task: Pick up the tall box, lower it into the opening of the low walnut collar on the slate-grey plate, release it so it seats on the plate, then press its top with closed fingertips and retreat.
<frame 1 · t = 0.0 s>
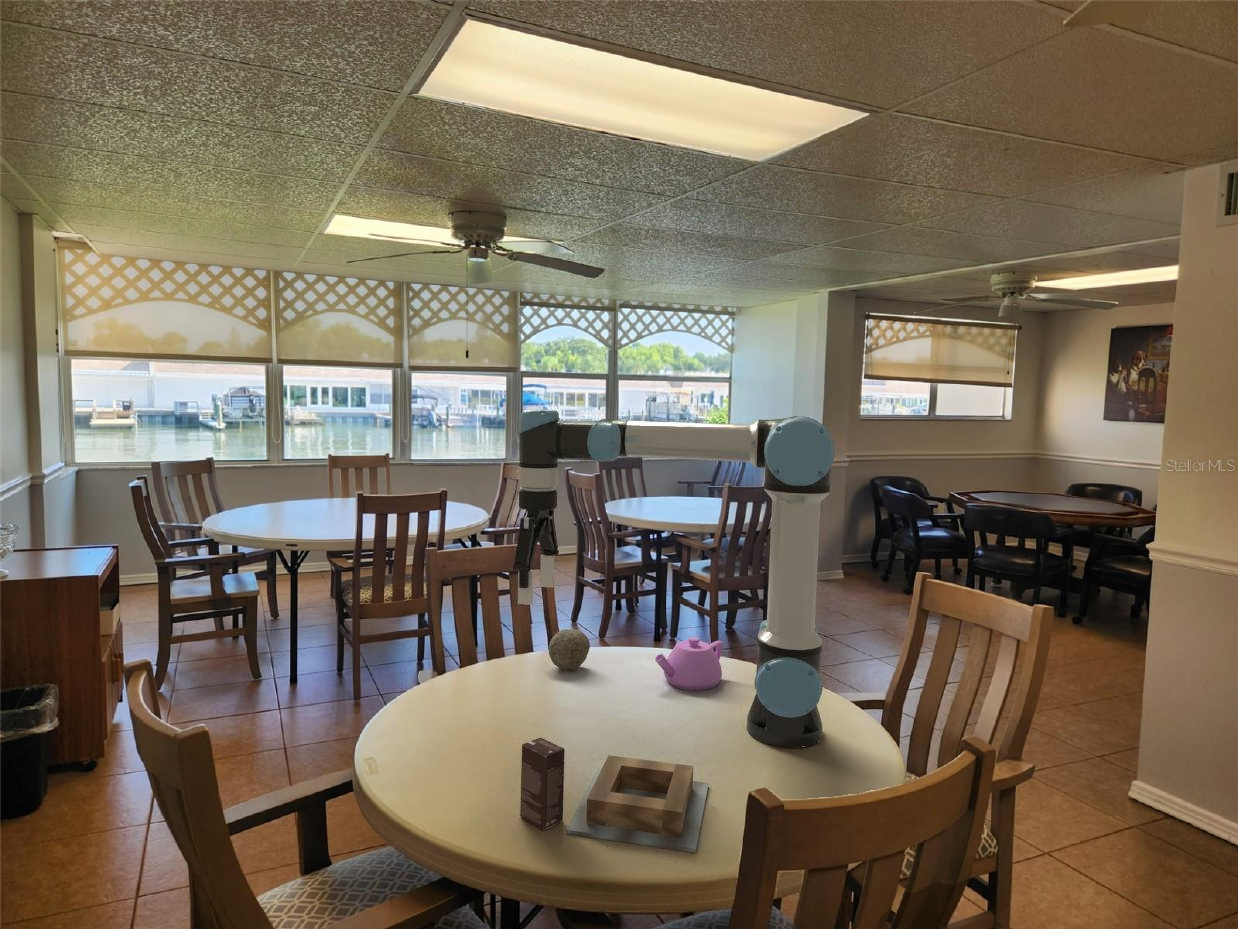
hand: (536, 595, 149), 28 cm above the table, fingers open, 13 cm apart
socket: (641, 808, 124), on the table
teapot: (689, 683, 181), on the table
box: (541, 820, 121), on the table
decorative stone: (569, 670, 187), on the table
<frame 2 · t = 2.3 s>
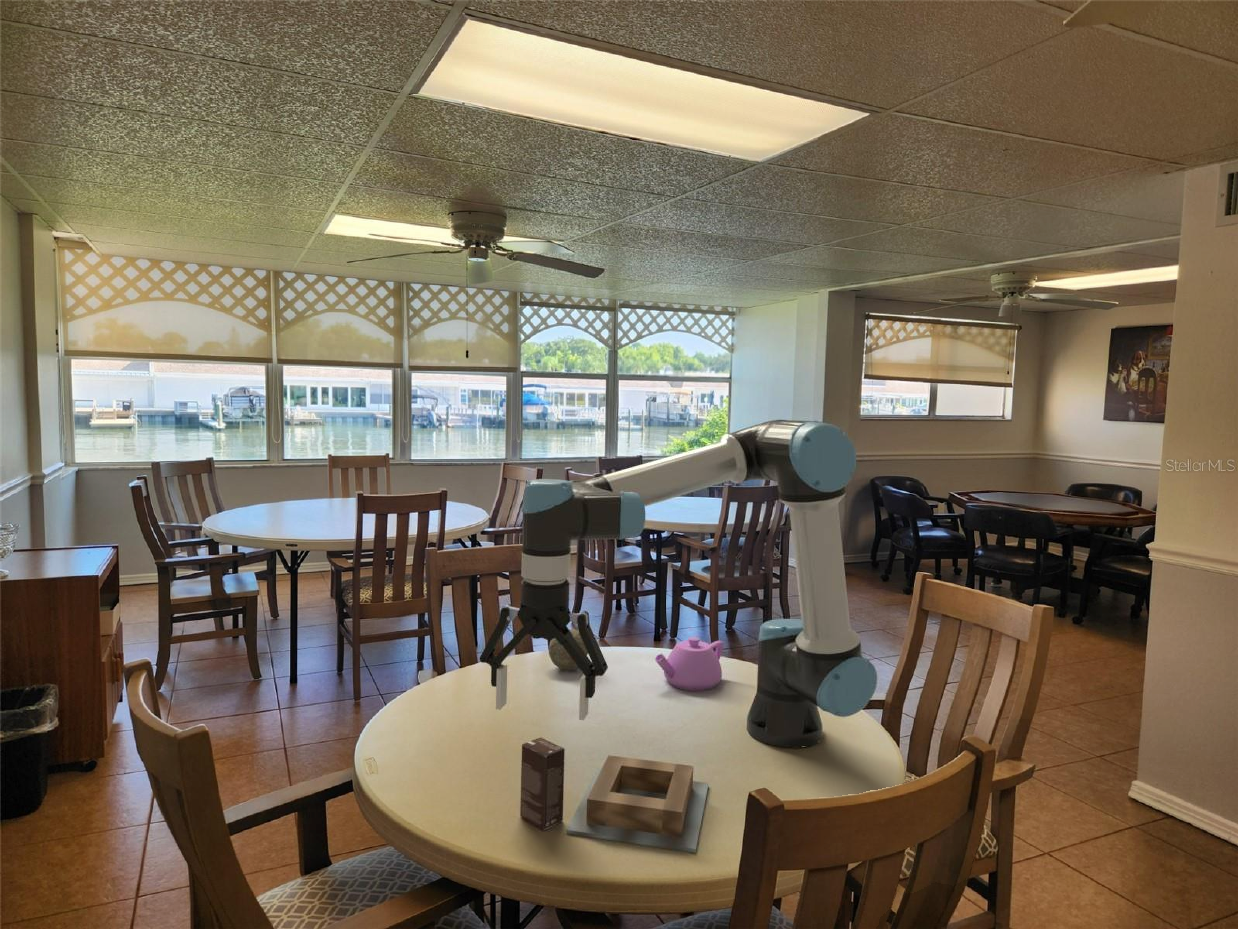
hand: (541, 711, 119), 18 cm above the table, fingers open, 13 cm apart
nothing on the table moved.
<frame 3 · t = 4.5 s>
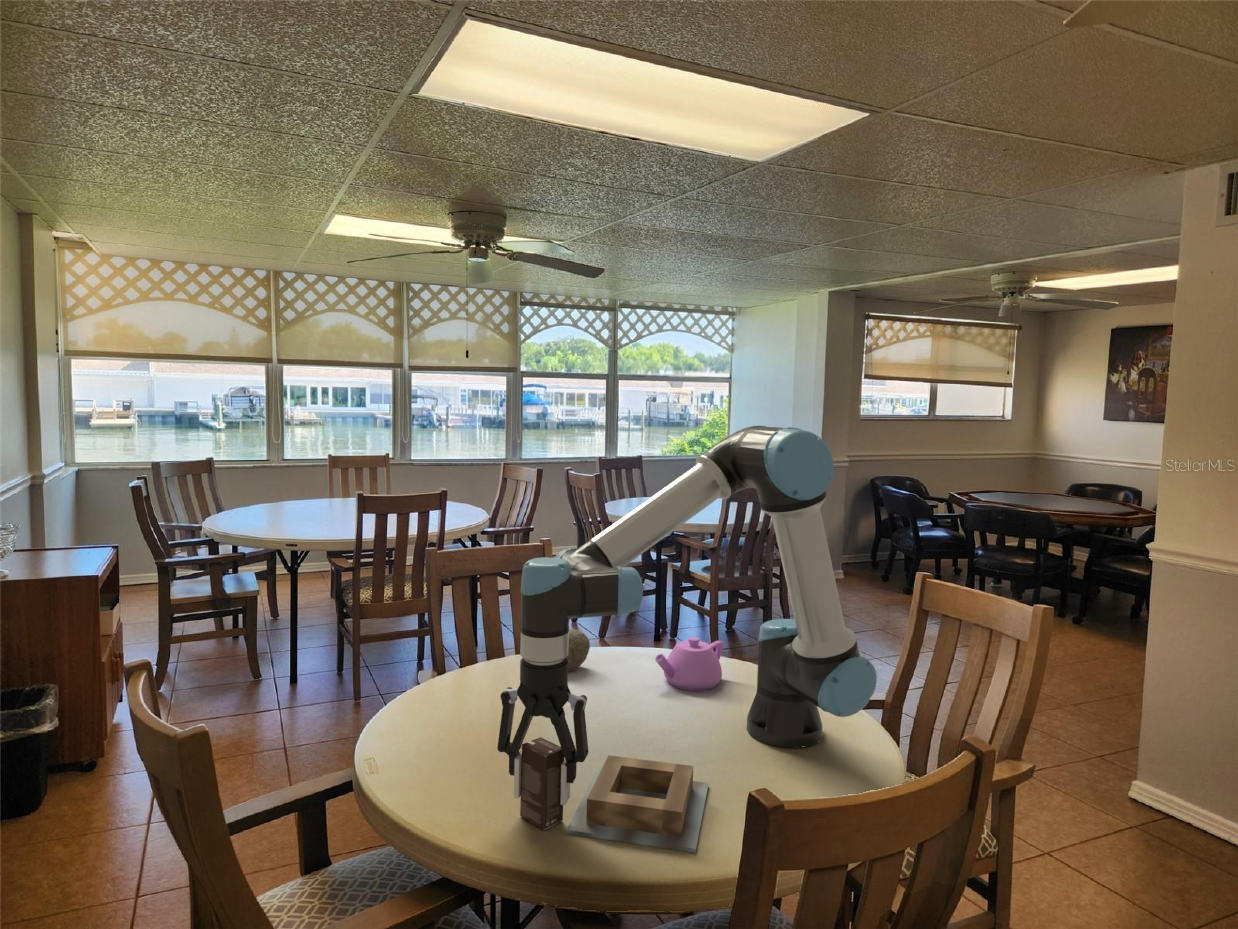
hand: (542, 797, 120), 4 cm above the table, fingers closed on box, 7 cm apart
box: (541, 819, 121), on the table, touching gripper
everything else where it was.
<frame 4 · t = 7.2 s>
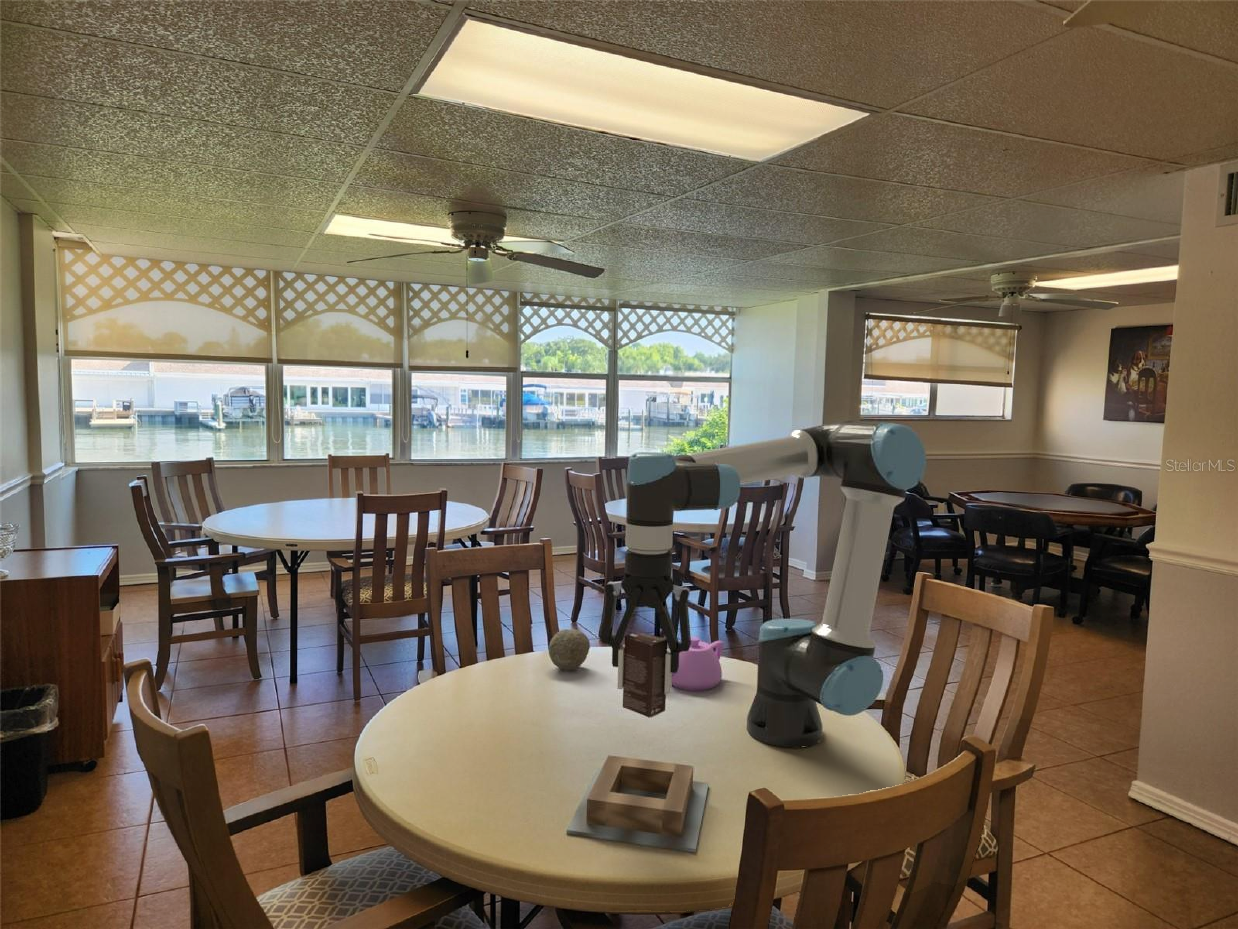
hand: (644, 688, 122), 20 cm above the table, fingers closed on box, 7 cm apart
box: (643, 710, 123), point 17 cm above the table, touching gripper
everything else where it was.
when the fingers open (6 cm above the table, at t = 10.2 s): box drops 2 cm, resting on socket.
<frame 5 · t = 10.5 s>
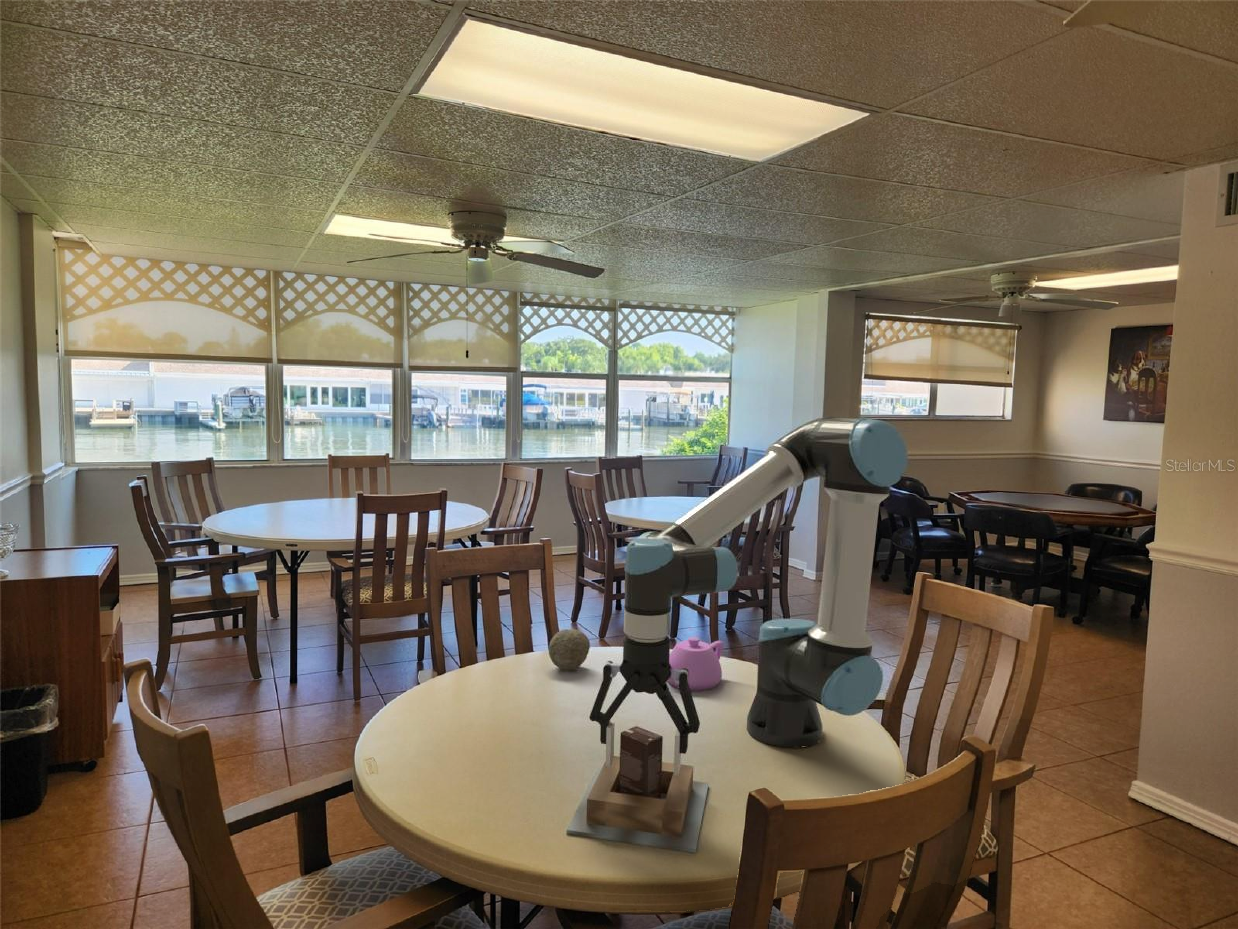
hand: (643, 766, 124), 7 cm above the table, fingers open, 10 cm apart
box: (639, 805, 124), resting on socket
everything else where it was.
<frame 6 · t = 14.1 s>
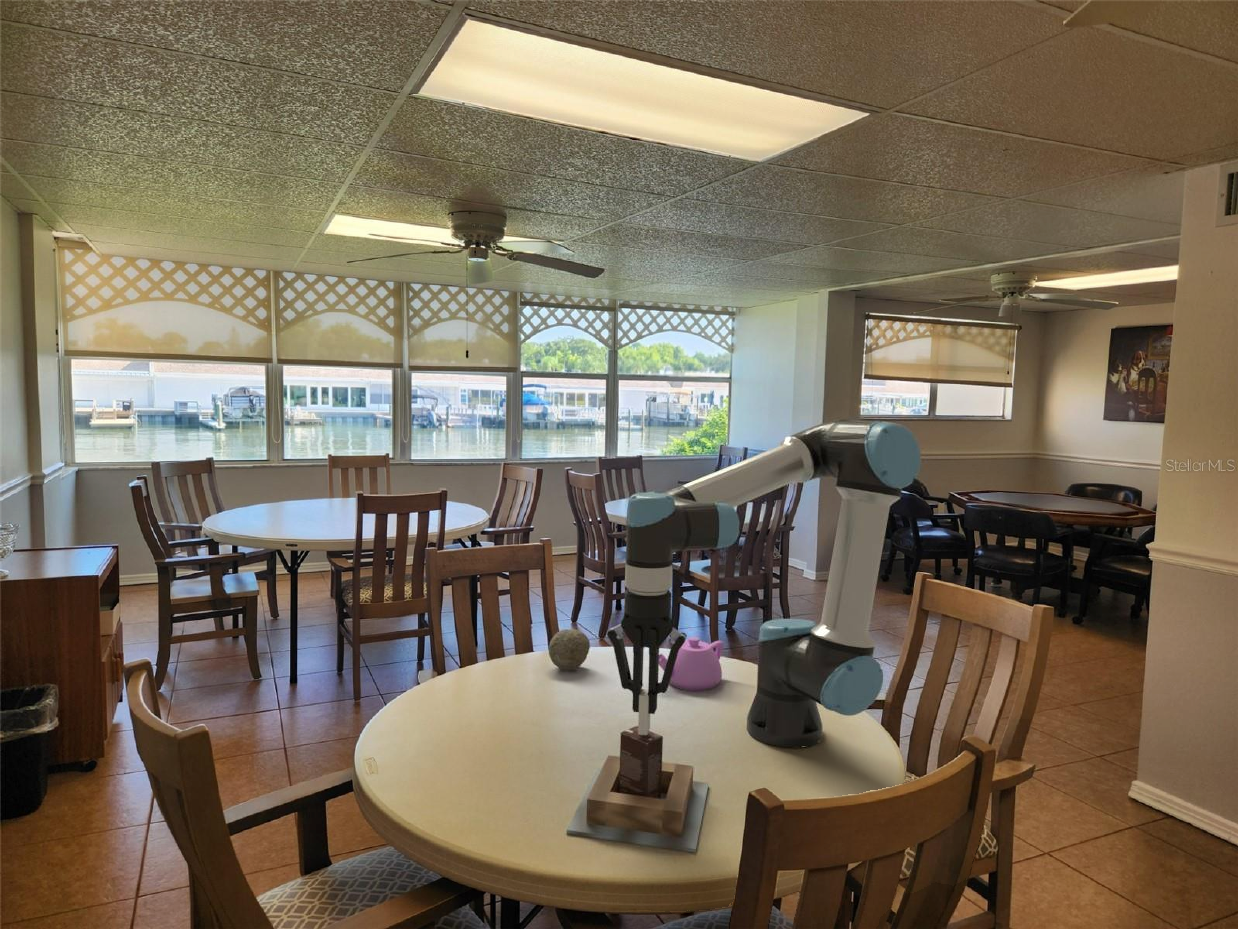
hand: (644, 731, 123), 13 cm above the table, fingers closed
nothing on the table moved.
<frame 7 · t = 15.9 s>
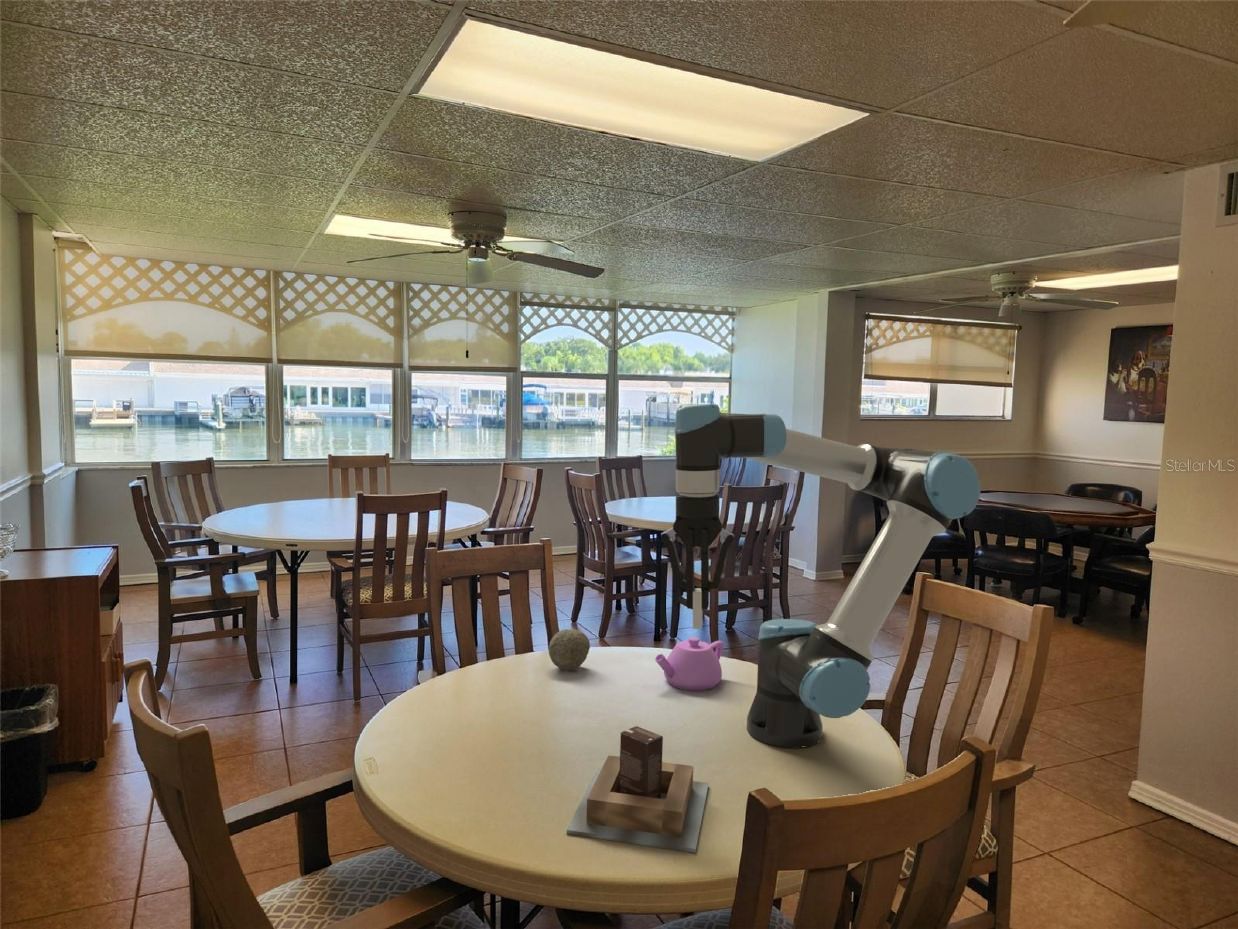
hand: (697, 626, 133), 28 cm above the table, fingers closed
nothing on the table moved.
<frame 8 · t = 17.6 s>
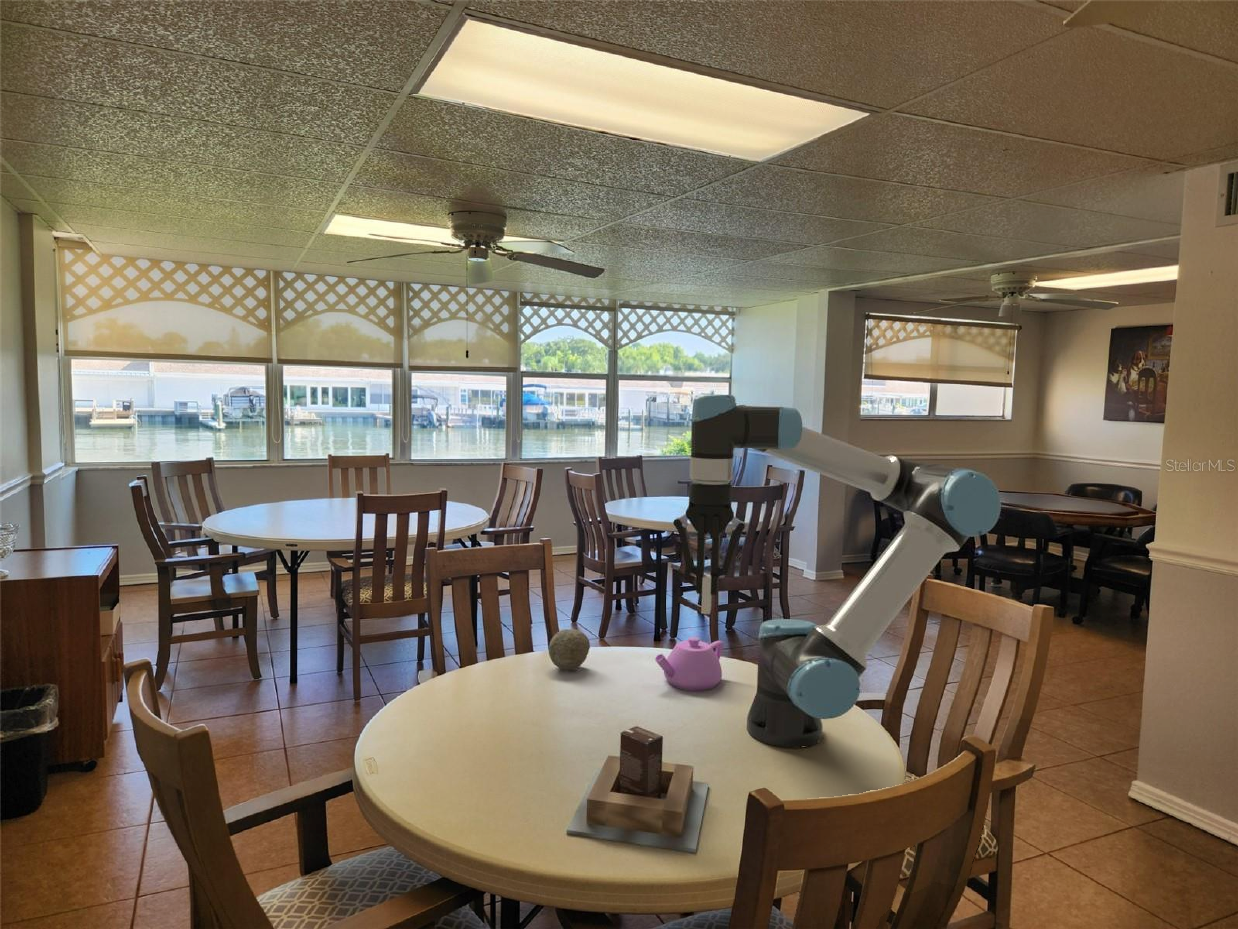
hand: (706, 611, 136), 29 cm above the table, fingers closed
nothing on the table moved.
at the end: box 0.4 cm off-centre on the socket, point 0.4 cm above the socket's base; box tilted 0°; the gripper is holding nothing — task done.
